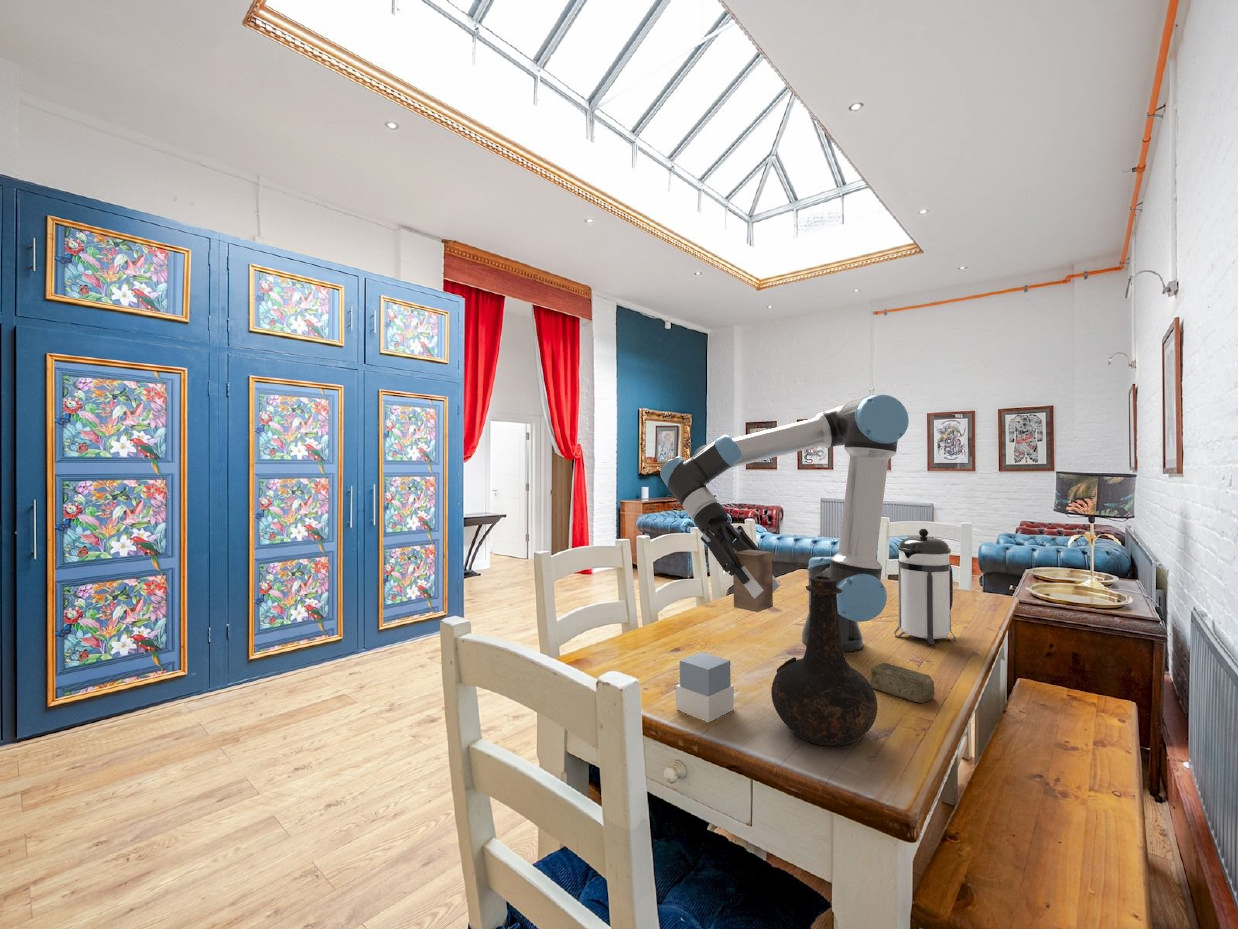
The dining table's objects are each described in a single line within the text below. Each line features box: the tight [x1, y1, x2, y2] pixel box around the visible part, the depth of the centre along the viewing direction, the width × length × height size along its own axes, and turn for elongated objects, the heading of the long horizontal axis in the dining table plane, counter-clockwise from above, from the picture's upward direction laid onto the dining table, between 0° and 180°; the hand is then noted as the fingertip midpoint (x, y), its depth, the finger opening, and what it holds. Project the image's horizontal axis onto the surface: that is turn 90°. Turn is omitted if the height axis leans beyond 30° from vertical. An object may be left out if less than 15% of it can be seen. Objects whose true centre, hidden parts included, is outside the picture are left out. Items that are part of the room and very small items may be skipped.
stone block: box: [869, 662, 935, 704], centre depth 118 cm, size 6×12×5 cm, turn 38°
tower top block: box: [679, 651, 732, 696], centre depth 110 cm, size 7×7×5 cm
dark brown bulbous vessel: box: [771, 576, 878, 747], centre depth 100 cm, size 18×18×28 cm
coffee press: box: [893, 528, 956, 647], centre depth 155 cm, size 17×16×30 cm
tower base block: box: [675, 683, 735, 723], centre depth 111 cm, size 8×8×5 cm
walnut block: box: [732, 550, 774, 613], centre depth 123 cm, size 6×6×12 cm
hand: (767, 591), depth 121 cm, fingers closed on walnut block, 6 cm apart
